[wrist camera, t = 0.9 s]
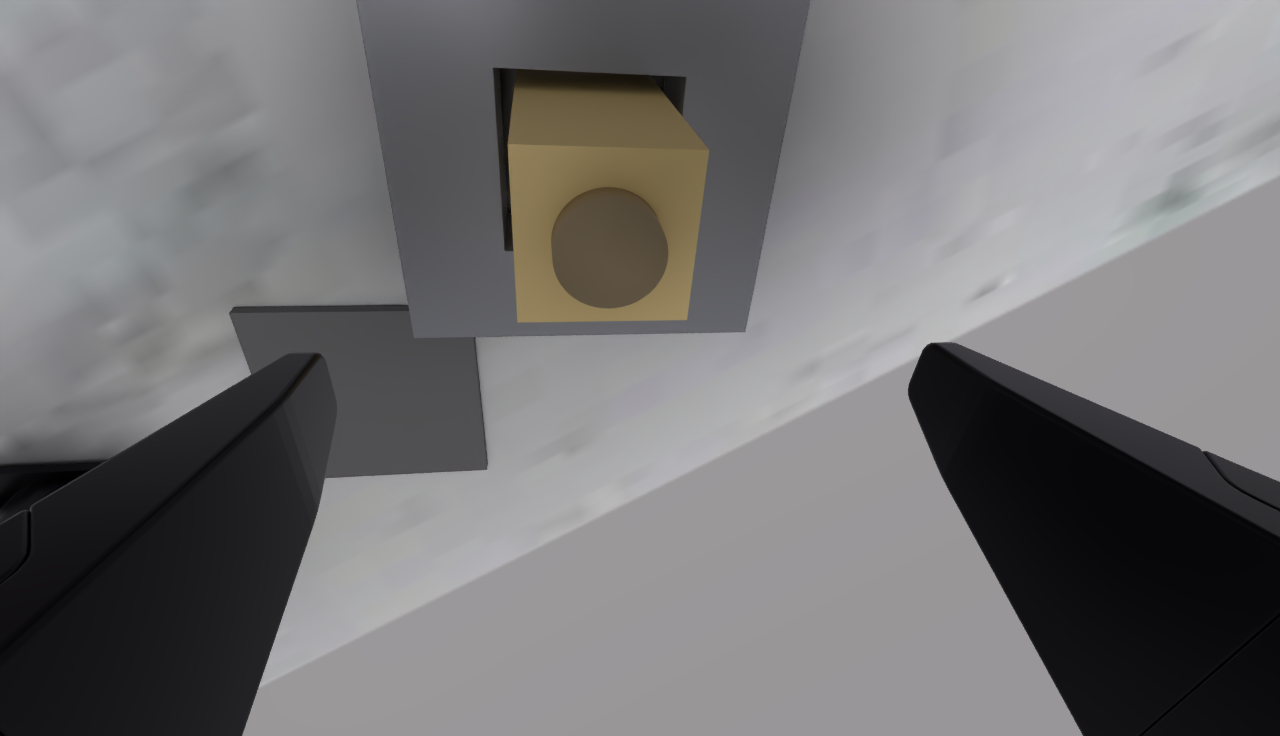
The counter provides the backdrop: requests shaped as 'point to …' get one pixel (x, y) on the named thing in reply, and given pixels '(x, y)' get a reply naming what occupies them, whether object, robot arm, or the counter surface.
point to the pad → (380, 385)
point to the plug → (602, 198)
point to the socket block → (474, 148)
